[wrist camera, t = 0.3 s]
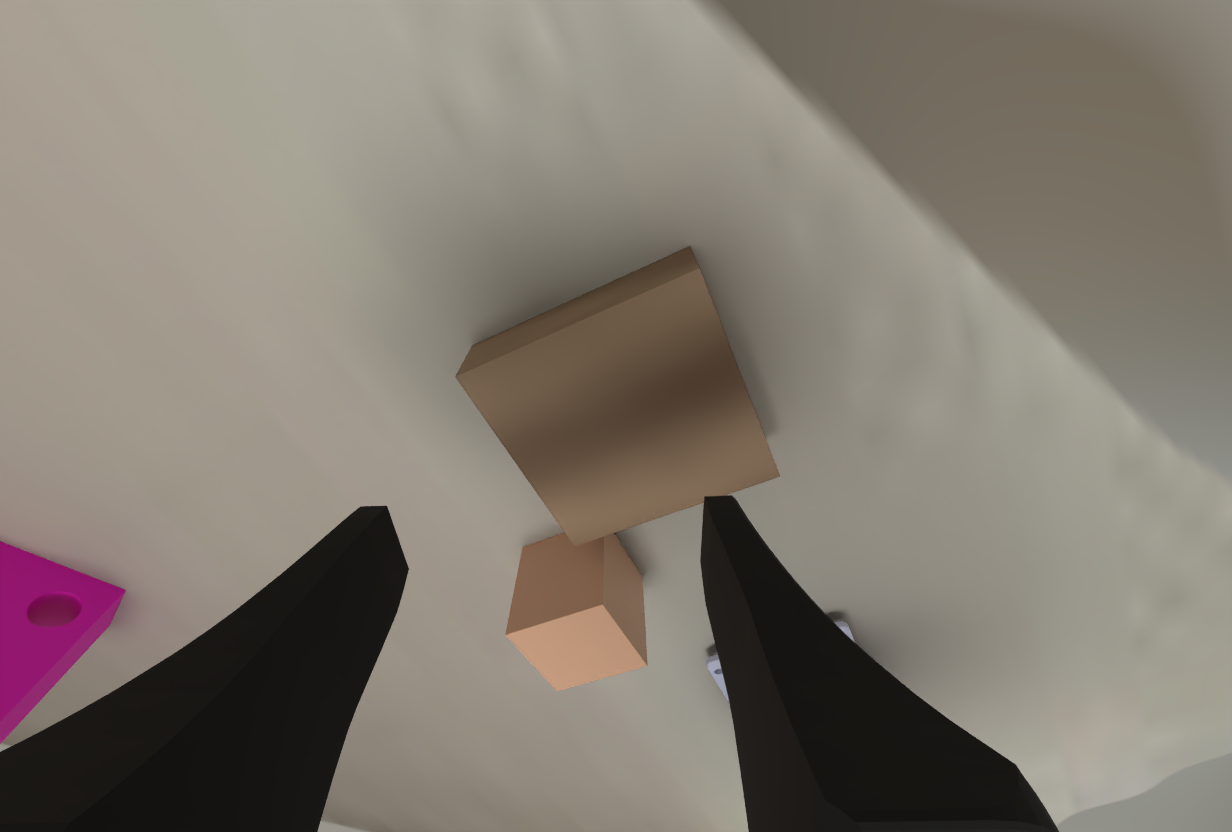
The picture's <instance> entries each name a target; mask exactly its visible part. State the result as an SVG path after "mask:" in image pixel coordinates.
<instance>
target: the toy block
mask: <svg viewBox="0 0 1232 832" xmlns="http://www.w3.org/2000/svg"><path fill="white" fill-rule="evenodd" d="M125 591H126V590H124V589H121V588H119V587H116V586H114V585H111V584H109V583H106V582H103V581H101V580H98V579H96V578H93V577H91V576H88V575H85V574H83V573H80V572H78V571H75V570H73V569H70V568H67V567H65V566H62V565H60V564H57V563H55V562H52V561H49V560H47V559H44V558H42V557H39V556H37V555H34V554H31V553H29V552H26V551H24V550H21V549H19V548H16V547H13V546H11V545H8V544H6V543H3V542H1V541H0V743H1V742H2V741H3V740H4V739H5V738H6V737H7V736H8V735H9V734H10V733H11V732H12V730H13V729H14V728H15V727H16V726H17V725H18V724H19V723H20V722H21V721H22V720H23V719H24V718H25V716H26V715H27V714H28V713H29V712H30V711H31V710H32V709H33V708H34V707H35V706H36V705H37V703H38V702H39V701H40V700H41V699H42V698H43V697H44V696H45V695H46V694H47V693H48V692H49V690H50V689H51V688H52V687H53V686H54V685H55V684H56V683H57V682H58V681H59V680H60V679H61V677H62V676H63V675H64V674H65V673H66V672H67V671H68V670H69V669H70V668H71V667H72V666H73V664H74V663H75V662H76V661H77V660H78V659H79V658H80V657H81V656H82V655H83V654H84V653H85V651H86V650H87V649H88V648H89V647H90V646H91V645H92V644H93V643H94V642H95V641H96V640H97V639H98V637H99V636H100V635H101V634H102V633H103V632H104V631H105V630H106V629H107V628H108V627H109V625H110V623H111V621H112V619H113V617H114V614H115V612H116V610H117V608H118V606H119V604H120V602H121V600H122V597H123V595H124V593H125Z"/></svg>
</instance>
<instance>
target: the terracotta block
mask: <svg viewBox="0 0 1232 832" xmlns="http://www.w3.org/2000/svg"><path fill="white" fill-rule="evenodd" d="M506 636H507V637H508V638H509V639H510V641H511V642H512V643H513V644H514V645H515V646H516V647H517V648H518V649H519V650H520V651H521V652H522V654H523V655H524V656H525V657H526V658H527V659H528V660H529V661H530V662H531V663H532V664H533V666H534V667H535V668H536V669H537V670H538V671H539V672H540V673H541V674H542V675H543V676H544V678H545V679H546V680H547V681H548V682H549V683H550V684H551V685H552V686H553V687H554V688H555V690H556V691H559V690H563V689H566V688H570V687H573V686H577V685H581V684H584V683H588V682H591V681H595V680H599V679H602V678H606V677H609V676H613V675H616V674H620V673H624V672H627V671H631V670H634V669H638V668H642V667H645V666H647V650H646V632H645V614H644V596H643V578H642V576H641V574H640V573H639V571H638V570H637V568H636V567H635V565H634V563H633V562H632V560H631V559H630V557H629V556H628V554H627V553H626V551H625V549H624V548H623V546H622V545H621V543H620V542H619V540H618V539H617V537H616V536H615V534H614V533H613V534H610V535H607V536H604V537H601V538H598V539H595V540H592V541H589V542H586V543H583V544H580V545H577V546H574V545H573V544H572V542H571V541H570V539H569V538H568V536H567V535H566V534H565V533H562V534H559V535H556V536H554V537H551V538H548V539H545V540H542V541H539V542H536V543H534V544H531V545H528V546H525V547H523V548H522V553H521V558H520V563H519V568H518V573H517V578H516V584H515V589H514V594H513V599H512V604H511V609H510V614H509V619H508V624H507V629H506Z"/></svg>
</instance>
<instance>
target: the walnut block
mask: <svg viewBox="0 0 1232 832" xmlns="http://www.w3.org/2000/svg"><path fill="white" fill-rule="evenodd" d="M455 377H456V379H457V380H458V381H459V383H460V384H461V386H462V387H463V389H464V390H465V391H466V393H467V394H468V396H469V397H470V398H471V400H472V401H473V403H474V404H475V406H476V407H477V408H478V410H479V411H480V413H481V414H482V416H483V417H484V418H485V420H486V421H487V423H488V424H489V426H490V427H491V428H492V430H493V431H494V433H495V434H496V435H497V437H498V438H499V440H500V441H501V443H502V444H503V445H504V447H505V448H506V450H507V451H508V453H509V454H510V455H511V457H512V458H513V460H514V461H515V462H516V464H517V465H518V467H519V468H520V470H521V471H522V472H523V474H524V475H525V477H526V478H527V480H528V481H529V482H530V484H531V485H532V487H533V488H534V490H535V491H536V492H537V494H538V495H539V497H540V498H541V499H542V501H543V502H544V504H545V505H546V507H547V508H548V509H549V511H550V512H551V514H552V515H553V517H554V518H555V519H556V521H557V522H558V524H559V525H560V526H561V528H562V529H563V531H564V532H565V534H566V535H567V536H568V538H569V539H570V541H571V542H572V544H573V545H574V546H577V545H580V544H583V543H586V542H589V541H592V540H595V539H598V538H601V537H604V536H607V535H610V534H613V533H615V532H618V531H621V530H624V529H627V528H630V527H633V526H636V525H639V524H642V523H645V522H648V521H651V520H654V519H657V518H660V517H662V516H665V515H668V514H671V513H674V512H677V511H680V510H683V509H686V508H689V507H692V506H695V505H698V504H701V503H704V496H724V495H727V494H730V493H733V492H736V491H739V490H742V489H745V488H748V487H751V486H754V485H756V484H759V483H762V482H765V481H768V480H771V479H774V478H777V477H780V475H779V472H778V469H777V467H776V464H775V462H774V459H773V456H772V454H771V451H770V449H769V446H768V443H767V441H766V438H765V436H764V433H763V431H762V428H761V425H760V423H759V420H758V418H757V415H756V412H755V410H754V407H753V405H752V402H751V400H750V397H749V394H748V392H747V389H746V387H745V384H744V381H743V379H742V376H741V374H740V371H739V369H738V366H737V363H736V361H735V358H734V356H733V353H732V350H731V348H730V345H729V343H728V340H727V337H726V335H725V332H724V330H723V327H722V325H721V322H720V319H719V317H718V314H717V312H716V309H715V306H714V304H713V301H712V299H711V296H710V294H709V291H708V288H707V286H706V283H705V281H704V278H703V275H702V273H701V270H700V268H699V265H698V263H697V261H696V258H695V256H694V254H693V252H692V249H691V247H690V246H689V247H687V248H685V249H682V250H680V251H678V252H676V253H674V254H671V255H669V256H667V257H665V258H663V259H661V260H658V261H656V262H654V263H652V264H650V265H647V266H645V267H643V268H641V269H639V270H637V271H634V272H632V273H630V274H628V275H626V276H623V277H621V278H619V279H617V280H615V281H612V282H610V283H608V284H606V285H604V286H602V287H599V288H597V289H595V290H593V291H591V292H588V293H586V294H584V295H582V296H580V297H578V298H575V299H573V300H571V301H569V302H567V303H564V304H562V305H560V306H558V307H556V308H554V309H551V310H549V311H547V312H545V313H543V314H540V315H538V316H536V317H534V318H532V319H529V320H527V321H525V322H523V323H521V324H519V325H516V326H514V327H512V328H510V329H508V330H505V331H503V332H501V333H499V334H497V335H495V336H492V337H490V338H488V339H486V340H484V341H481V342H479V343H477V344H475V345H473V346H472V347H471V349H470V351H469V352H468V354H467V356H466V358H465V360H464V362H463V363H462V365H461V367H460V369H459V371H458V373H457V375H456V376H455Z"/></svg>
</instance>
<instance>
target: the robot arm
mask: <svg viewBox="0 0 1232 832" xmlns="http://www.w3.org/2000/svg"><path fill="white" fill-rule="evenodd" d="M700 562H701V570H702V578H703V586H704V594H705V601H706V607H707V611H708V615H709V619H710V624H711V628H712V632H713V636H714V640H715V645H716V649H717V653H718V654H717V655H713V656H710V657H709V658H708V659H707V660H706V665H707V669H708V670H709V672H710V673H711V675H712V677H713V678H714V680H715V681H716V683H717V684H718V686H719V688H720V689H721V691H722V692H723V694H724V696H725V697H726V699H727V700H728V702H729V703H730V708H731V713H732V718H733V724H734V730H735V737H736V744H737V751H738V757H739V764H740V771H741V778H742V785H743V792H744V800H745V807H746V814H747V821H748V829H749V832H1059V831H1058V829H1057V827H1056V825H1055V824H1054V822H1053V820H1052V819H1051V817H1050V815H1049V814H1048V812H1047V810H1046V808H1045V807H1044V805H1043V804H1042V802H1041V801H1040V799H1039V797H1038V796H1037V794H1036V793H1035V792H1034V790H1033V789H1032V787H1031V786H1030V785H1029V783H1028V782H1027V780H1026V779H1025V778H1024V776H1023V775H1022V773H1021V772H1020V770H1019V769H1018V767H1017V766H1016V765H1015V764H1014V763H1012V762H1011V761H1009V760H1008V759H1006V758H1005V757H1004V756H1002V755H1001V754H999V753H998V752H996V751H995V750H993V749H992V748H990V747H989V746H987V745H986V744H984V743H983V742H981V741H980V740H978V739H977V738H975V737H974V736H972V735H971V734H969V733H968V732H966V731H965V730H964V729H962V728H961V727H959V726H958V725H956V724H955V723H953V722H952V721H950V720H949V719H948V718H946V717H945V716H944V715H942V714H941V713H940V712H938V711H937V710H936V709H934V708H933V707H932V706H930V705H929V704H928V703H926V702H925V701H924V700H922V699H921V698H920V697H918V696H917V695H916V694H914V693H913V692H912V691H911V690H910V689H908V688H907V687H906V686H905V685H904V684H902V683H901V682H900V681H899V680H898V679H896V678H895V677H894V676H893V675H891V674H890V673H889V672H888V671H887V670H885V669H884V668H883V667H882V666H881V665H879V664H878V663H877V662H876V661H875V660H873V659H872V658H871V657H870V656H869V655H868V654H867V653H866V652H864V651H863V650H862V649H861V648H860V647H859V646H858V645H857V644H856V643H855V641H854V639H853V636H852V633H851V631H850V628H849V626H848V624H847V623H846V622H843V621H837V622H833V621H832V620H831V619H830V618H829V617H828V616H827V615H826V614H825V613H824V612H823V611H822V610H821V609H820V608H819V607H818V606H817V604H816V603H815V602H814V601H813V600H812V599H811V598H810V597H809V596H808V595H807V593H806V592H805V591H804V590H803V589H802V588H801V587H800V586H799V584H798V583H797V582H796V581H795V580H794V579H793V577H792V576H791V575H790V574H789V573H788V571H787V570H786V569H785V568H784V566H783V565H782V564H781V563H780V561H779V560H778V559H777V557H776V556H775V555H774V554H773V552H772V551H771V550H770V549H769V547H768V546H767V545H766V543H765V542H764V541H763V539H762V538H761V536H760V535H759V534H758V532H757V531H756V529H755V528H754V527H753V525H752V524H751V522H750V521H749V519H748V518H747V516H746V515H745V513H744V512H743V510H742V508H741V507H740V505H739V504H738V502H737V500H736V499H735V498H734V497H733V496H704V510H703V526H702V543H701V560H700ZM408 570H409V568H408V565H407V562H406V560H405V557H404V554H403V551H402V548H401V545H400V542H399V539H398V536H397V534H396V531H395V528H394V525H393V522H392V519H391V516H390V513H389V510H388V508H387V506H364V507H359V508H358V509H357V510H356V511H354V512H353V513H352V514H351V515H350V516H348V517H347V518H346V519H345V520H344V521H342V522H341V523H340V524H339V525H338V526H337V527H335V528H334V529H333V530H332V531H331V532H330V533H329V534H327V535H326V536H325V537H324V538H323V539H322V540H321V541H319V542H318V543H317V544H316V545H315V546H314V547H312V548H311V549H310V550H309V551H308V552H307V553H305V554H304V555H303V556H302V557H301V558H300V559H298V560H297V561H296V562H295V563H294V564H293V565H291V566H290V567H289V568H288V569H287V570H286V571H284V572H283V573H282V574H281V575H280V576H278V577H277V578H276V579H274V580H273V581H272V582H271V583H269V584H268V585H267V586H266V587H264V588H263V589H262V590H261V591H259V592H258V593H257V594H256V595H254V596H253V597H252V598H251V599H249V600H248V601H247V602H246V603H244V604H243V605H242V606H240V607H239V608H238V609H237V610H235V611H234V612H233V613H231V614H230V615H229V616H227V617H226V618H225V619H223V620H222V621H220V622H219V623H218V624H216V625H215V626H214V627H212V628H211V629H209V630H208V631H206V632H205V633H204V634H202V635H201V636H199V637H198V638H196V639H195V640H193V641H192V642H190V643H189V644H188V645H186V646H185V647H183V648H182V649H180V650H179V651H177V652H176V653H174V654H173V655H171V656H170V657H168V658H166V659H165V660H163V661H161V662H160V663H158V664H157V665H155V666H153V667H152V668H150V669H149V670H147V671H145V672H144V673H142V674H140V675H139V676H137V677H136V678H134V679H132V680H131V681H129V682H128V683H126V684H124V685H123V686H121V687H120V688H118V689H116V690H115V691H113V692H111V693H109V694H108V695H106V696H104V697H102V698H101V699H99V700H97V701H95V702H94V703H92V704H90V705H88V706H87V707H85V708H83V709H81V710H80V711H78V712H76V713H74V714H72V715H70V716H69V717H67V718H65V719H63V720H61V721H59V722H57V723H56V724H54V725H52V726H50V727H48V728H46V729H44V730H43V731H41V732H39V733H37V734H35V735H33V736H31V737H29V738H27V739H25V740H23V741H21V742H19V743H17V744H15V745H13V746H11V747H9V748H7V749H5V750H3V751H1V752H0V832H317V831H318V827H319V824H320V820H321V817H322V814H323V810H324V807H325V803H326V800H327V796H328V793H329V789H330V786H331V783H332V779H333V776H334V773H335V769H336V766H337V763H338V760H339V757H340V754H341V751H342V747H343V744H344V741H345V738H346V735H347V732H348V729H349V726H350V723H351V721H352V718H353V716H354V713H355V710H356V708H357V705H358V703H359V701H360V698H361V696H362V694H363V691H364V689H365V687H366V684H367V682H368V680H369V677H370V675H371V673H372V670H373V668H374V666H375V663H376V661H377V659H378V656H379V654H380V652H381V649H382V647H383V645H384V642H385V640H386V637H387V635H388V633H389V630H390V628H391V625H392V623H393V621H394V618H395V616H396V613H397V610H398V607H399V604H400V600H401V597H402V593H403V590H404V586H405V582H406V578H407V574H408Z"/></svg>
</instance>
